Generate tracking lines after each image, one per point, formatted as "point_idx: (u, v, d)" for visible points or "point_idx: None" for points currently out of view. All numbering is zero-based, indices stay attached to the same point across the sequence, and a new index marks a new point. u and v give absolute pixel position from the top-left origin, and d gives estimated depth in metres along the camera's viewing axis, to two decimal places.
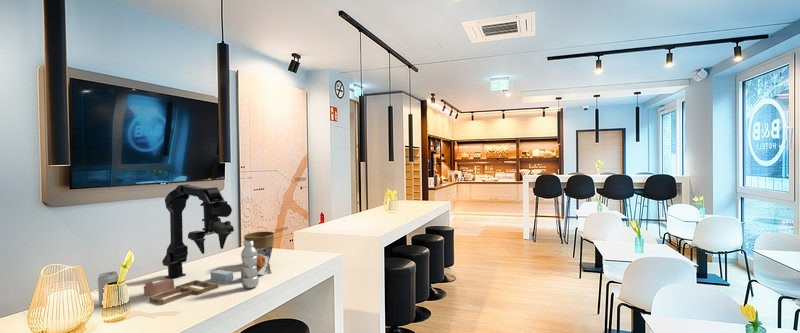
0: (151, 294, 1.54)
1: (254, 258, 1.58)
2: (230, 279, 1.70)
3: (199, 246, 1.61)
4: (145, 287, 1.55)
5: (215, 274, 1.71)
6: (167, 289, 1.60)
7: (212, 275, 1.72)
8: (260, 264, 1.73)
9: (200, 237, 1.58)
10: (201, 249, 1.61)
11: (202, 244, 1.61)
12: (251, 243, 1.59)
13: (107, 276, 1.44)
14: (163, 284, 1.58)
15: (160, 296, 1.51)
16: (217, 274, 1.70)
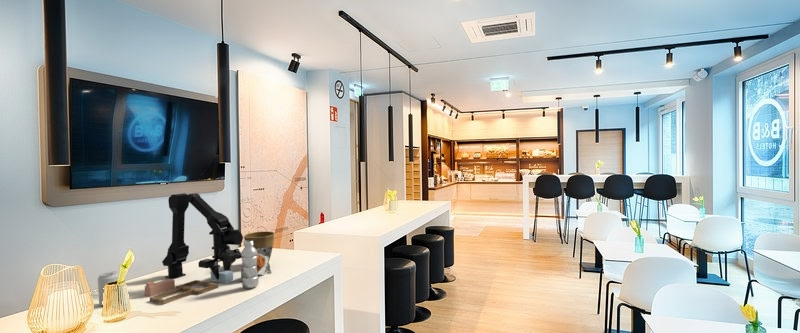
0: (152, 294, 1.54)
1: (254, 258, 1.58)
2: (230, 279, 1.70)
3: (214, 272, 1.69)
4: (146, 287, 1.55)
5: None
6: (168, 289, 1.60)
7: (212, 274, 1.72)
8: (260, 264, 1.73)
9: (210, 266, 1.63)
10: (216, 275, 1.69)
11: (217, 270, 1.68)
12: (251, 243, 1.59)
13: (107, 276, 1.44)
14: (164, 284, 1.58)
15: (160, 296, 1.51)
16: None
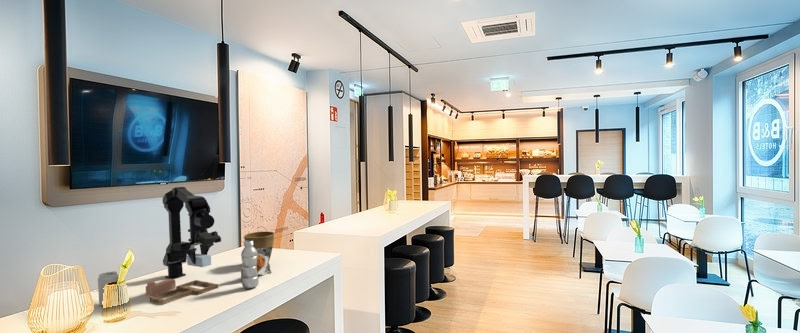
0: (153, 294, 1.54)
1: (254, 258, 1.58)
2: (208, 263, 1.60)
3: (190, 256, 1.59)
4: (147, 287, 1.55)
5: None
6: (169, 289, 1.60)
7: (189, 259, 1.62)
8: (260, 264, 1.73)
9: (186, 248, 1.54)
10: (192, 259, 1.59)
11: (193, 254, 1.58)
12: (251, 243, 1.59)
13: (107, 276, 1.44)
14: (165, 284, 1.58)
15: (160, 296, 1.51)
16: None
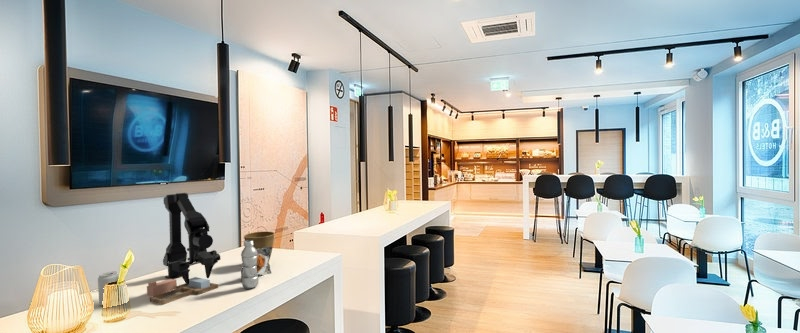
0: (155, 294, 1.54)
1: (254, 258, 1.58)
2: None
3: (184, 277, 1.56)
4: (148, 287, 1.55)
5: (191, 282, 1.60)
6: (170, 289, 1.60)
7: None
8: (260, 264, 1.73)
9: (184, 268, 1.53)
10: (186, 280, 1.57)
11: (187, 275, 1.56)
12: (251, 243, 1.59)
13: (107, 276, 1.44)
14: (166, 284, 1.59)
15: (160, 296, 1.51)
16: (193, 282, 1.60)
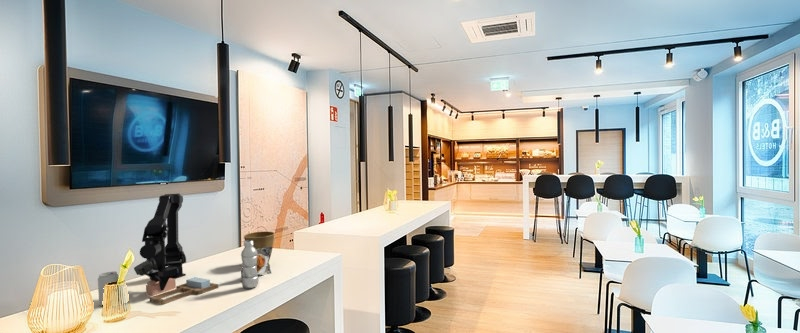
0: (154, 293, 1.55)
1: (254, 258, 1.58)
2: None
3: None
4: (147, 286, 1.55)
5: (191, 282, 1.60)
6: (169, 288, 1.61)
7: (188, 283, 1.61)
8: (260, 264, 1.73)
9: None
10: None
11: (151, 279, 1.59)
12: (251, 243, 1.59)
13: (107, 276, 1.44)
14: None
15: (160, 296, 1.51)
16: (193, 282, 1.60)
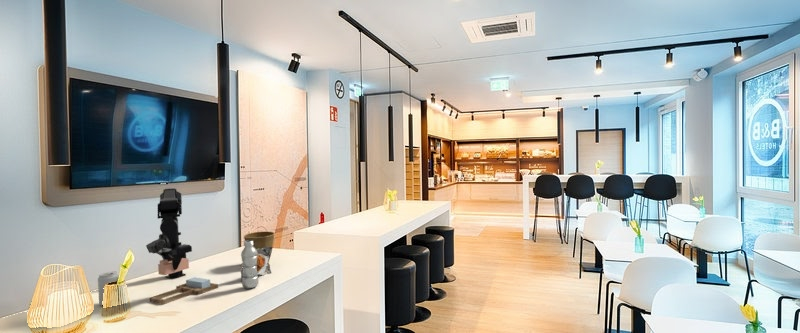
0: (166, 272, 1.48)
1: (254, 258, 1.58)
2: None
3: None
4: (160, 265, 1.48)
5: (191, 282, 1.60)
6: (182, 268, 1.54)
7: (188, 283, 1.61)
8: (260, 264, 1.73)
9: None
10: None
11: (163, 258, 1.52)
12: (251, 243, 1.59)
13: (107, 276, 1.44)
14: None
15: (160, 296, 1.51)
16: (193, 282, 1.60)
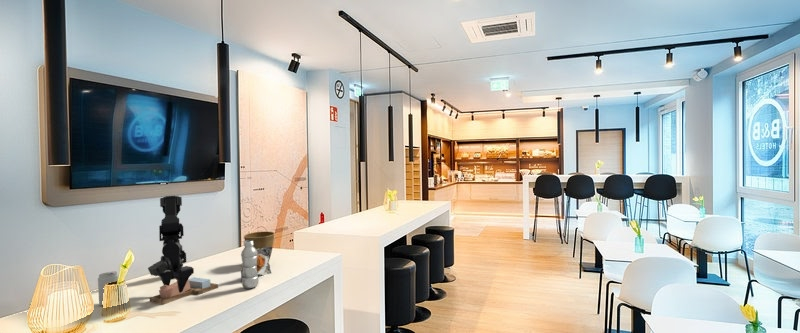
0: None
1: (254, 258, 1.58)
2: None
3: None
4: (161, 291, 1.48)
5: (191, 282, 1.60)
6: (184, 290, 1.54)
7: None
8: (260, 264, 1.73)
9: None
10: None
11: (161, 279, 1.53)
12: (251, 243, 1.59)
13: (107, 276, 1.44)
14: None
15: None
16: (193, 282, 1.60)
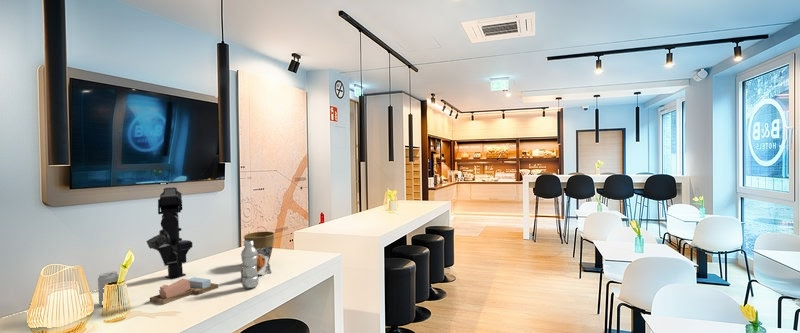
0: (168, 297, 1.48)
1: (254, 258, 1.58)
2: None
3: None
4: (161, 291, 1.48)
5: (191, 282, 1.60)
6: (184, 290, 1.54)
7: None
8: (260, 264, 1.73)
9: None
10: None
11: (160, 253, 1.53)
12: (251, 243, 1.59)
13: (107, 276, 1.44)
14: (179, 286, 1.52)
15: None
16: (193, 282, 1.60)
